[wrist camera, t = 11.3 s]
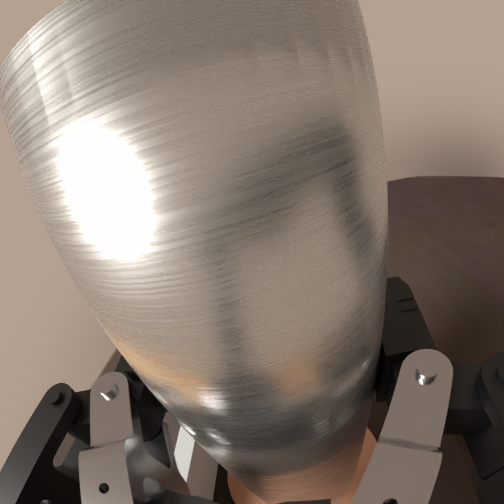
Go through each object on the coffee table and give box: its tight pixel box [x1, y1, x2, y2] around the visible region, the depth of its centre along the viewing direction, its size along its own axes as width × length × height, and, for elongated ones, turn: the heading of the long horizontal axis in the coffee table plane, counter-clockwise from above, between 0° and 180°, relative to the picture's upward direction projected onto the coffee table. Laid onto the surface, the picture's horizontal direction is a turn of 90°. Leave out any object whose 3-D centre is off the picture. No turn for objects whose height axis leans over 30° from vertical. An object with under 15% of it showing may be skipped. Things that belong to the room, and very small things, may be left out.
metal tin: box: [0, 0, 388, 504], centre depth 9 cm, size 6×6×18 cm
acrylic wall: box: [174, 426, 218, 501], centre depth 14 cm, size 14×1×4 cm, turn 175°
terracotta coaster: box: [227, 428, 377, 504], centre depth 14 cm, size 9×9×1 cm
